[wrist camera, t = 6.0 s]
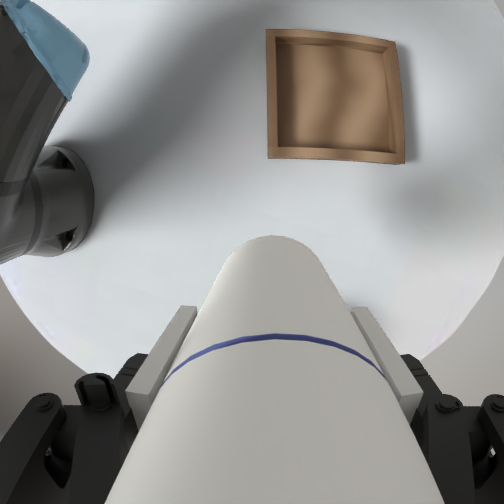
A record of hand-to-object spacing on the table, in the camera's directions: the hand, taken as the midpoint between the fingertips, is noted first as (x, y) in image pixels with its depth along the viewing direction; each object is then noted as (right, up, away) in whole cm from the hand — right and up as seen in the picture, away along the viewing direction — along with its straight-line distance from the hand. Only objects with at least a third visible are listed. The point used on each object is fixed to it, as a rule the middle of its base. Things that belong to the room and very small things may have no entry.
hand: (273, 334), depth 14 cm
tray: (+8, +21, +17) cm, 29 cm away
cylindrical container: (0, +1, +6) cm, 6 cm away
